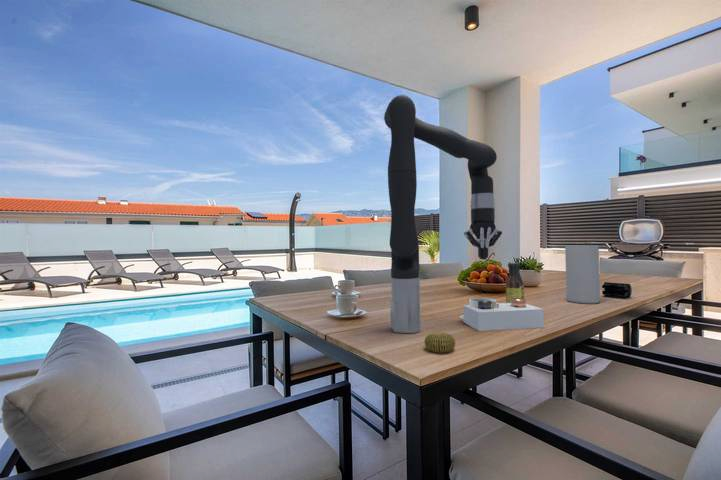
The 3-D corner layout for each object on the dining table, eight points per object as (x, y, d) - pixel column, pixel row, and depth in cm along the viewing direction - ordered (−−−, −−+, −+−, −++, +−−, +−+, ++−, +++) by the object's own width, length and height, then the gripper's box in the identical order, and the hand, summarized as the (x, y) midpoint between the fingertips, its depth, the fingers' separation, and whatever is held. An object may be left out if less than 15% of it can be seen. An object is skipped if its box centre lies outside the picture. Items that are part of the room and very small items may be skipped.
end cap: (632, 297, 158) (631, 283, 158) (627, 299, 154) (626, 284, 154) (606, 295, 166) (606, 281, 166) (601, 297, 162) (600, 282, 162)
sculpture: (418, 335, 92) (436, 329, 97) (418, 350, 92) (437, 343, 97) (442, 341, 85) (460, 334, 91) (443, 357, 85) (461, 349, 91)
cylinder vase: (605, 301, 150) (603, 245, 150) (592, 305, 143) (591, 246, 143) (574, 298, 160) (573, 245, 160) (561, 301, 153) (559, 246, 153)
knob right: (516, 325, 113) (515, 300, 113) (508, 322, 118) (508, 298, 118) (529, 324, 114) (528, 299, 114) (521, 321, 118) (520, 297, 118)
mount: (478, 331, 108) (478, 312, 108) (463, 322, 120) (463, 305, 120) (543, 327, 110) (543, 309, 110) (522, 319, 122) (521, 302, 122)
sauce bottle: (527, 317, 124) (525, 263, 124) (508, 317, 126) (507, 263, 126) (522, 313, 131) (520, 262, 131) (504, 313, 132) (503, 262, 132)
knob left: (481, 327, 112) (480, 301, 112) (475, 323, 116) (474, 299, 116) (494, 326, 112) (494, 301, 112) (488, 323, 117) (487, 299, 117)
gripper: (468, 206, 110) (469, 260, 110) (507, 206, 111) (507, 259, 111) (459, 208, 117) (459, 259, 117) (495, 208, 119) (496, 258, 119)
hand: (483, 259), depth 114 cm, fingers closed
